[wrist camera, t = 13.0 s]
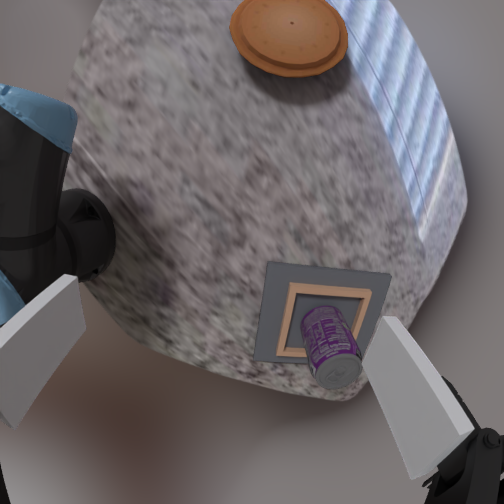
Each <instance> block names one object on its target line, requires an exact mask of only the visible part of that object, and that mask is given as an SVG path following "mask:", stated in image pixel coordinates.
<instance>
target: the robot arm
mask: <svg viewBox="0 0 504 504" xmlns="http://www.w3.org/2000/svg"><path fill="white" fill-rule="evenodd" d="M77 121H78V118H77V113H76V111H75V110H74V108H73V107H71V106H70V105H68V104H66V103H63V102H61V101H59V100H56V99H53V98H50V97H48V96H45V95H42V94H39V93H36V92H32V91H29V90H25V89H22V88H18V87H13V86H9V85H5V84H0V420H1V421H2V422H3V423H5V424H6V425H8V426H9V427H10V428H12V429H13V430H16V428H17V427H18V425H19V423H20V422H21V420H22V418H23V417H24V415H25V414H26V412H27V411H28V409H29V407H30V406H31V404H32V403H33V401H34V400H35V398H36V397H37V395H38V394H39V392H40V391H41V390H42V388H43V387H44V385H45V384H46V382H47V380H48V379H49V378H50V377H51V375H52V374H53V372H54V371H55V370H56V368H57V367H58V366H59V364H60V363H61V361H62V360H63V359H64V357H65V356H66V355H67V354H68V352H69V351H70V349H71V348H72V347H73V346H74V344H75V343H76V342H77V340H78V339H79V338H80V337H81V335H82V334H83V333H84V331H85V330H86V324H85V319H84V314H83V308H82V303H81V297H80V290H79V284H78V283H80V282H84V281H89V280H91V279H93V278H95V277H97V276H98V275H99V274H100V273H102V272H103V271H104V270H105V269H106V268H107V267H108V265H109V264H110V262H111V260H112V258H113V255H114V251H115V230H114V226H113V222H112V219H111V217H110V214H109V212H108V210H107V209H106V207H105V206H104V204H103V203H102V202H101V201H100V200H99V199H98V198H97V197H96V196H95V195H94V194H92V193H90V192H89V191H86V190H83V189H77V188H76V189H69V190H66V191H62V187H63V182H64V177H65V172H66V168H67V164H68V160H69V156H70V154H71V153H72V143H73V138H74V134H75V130H76V126H77ZM362 366H363V368H364V370H365V373H366V375H367V377H368V379H369V381H370V383H371V386H372V388H373V390H374V392H375V394H376V397H377V399H378V401H379V403H380V406H381V408H382V410H383V413H384V415H385V417H386V420H387V422H388V424H389V427H390V429H391V432H392V434H393V436H394V439H395V441H396V444H397V446H398V449H399V451H400V454H401V456H402V459H403V461H404V464H405V466H406V469H407V471H408V474H409V477H410V480H412V479H415V478H418V477H421V476H423V475H426V474H428V473H429V472H430V471H431V470H432V469H434V468H435V467H436V466H437V467H438V469H439V471H438V472H436V473H435V474H434V475H433V476H432V477H430V478H429V479H428V480H426V481H425V482H424V483H423V485H422V487H425V486H426V485H427V484H428V483H430V482H431V481H432V484H430V485H429V486H428V487H427V488H429V492H428V495H427V498H426V500H425V503H424V504H504V479H502V480H501V481H500V475H501V474H502V473H503V472H504V435H501V436H500V435H499V434H498V433H497V432H496V431H495V430H493V429H491V428H484V429H481V428H480V426H479V425H478V423H477V422H476V420H475V418H474V417H473V415H472V414H471V412H470V411H469V409H468V408H467V406H466V404H465V403H464V402H462V398H461V397H460V396H459V395H458V392H457V391H456V390H455V388H454V387H453V385H452V384H451V383H450V382H449V381H448V380H446V379H445V378H444V377H443V376H440V375H439V373H438V372H437V370H436V369H435V368H434V366H433V365H432V363H431V362H430V361H429V359H428V358H427V356H426V355H425V354H424V352H423V351H422V350H421V348H420V347H419V346H418V344H417V343H416V342H415V340H414V339H413V338H412V336H411V335H410V334H409V332H408V331H407V330H406V329H405V327H404V326H403V325H402V323H401V322H400V321H399V320H398V318H397V317H392V316H382V318H381V321H380V323H379V326H378V328H377V331H376V333H375V335H374V338H373V340H372V342H371V345H370V347H369V349H368V351H367V353H366V356H365V358H364V360H363V362H362ZM0 504H11V503H10V500H9V497H8V493H7V490H6V486H5V482H4V478H3V474H2V469H1V464H0Z"/></svg>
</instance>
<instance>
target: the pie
mask: <svg viewBox="0 0 504 504" xmlns="http://www.w3.org/2000/svg"><path fill="white" fill-rule="evenodd" d="M229 29H230V32H231V35H232V39H233V41H234V43H235V45H236V47H237V49H238V51H239V53H240V54H241V55H242V56H243V57H244V58H245V59H247V60H248V61H249V62H250V63H251V64H252V65H254V66H256V67H258V68H260V69H262V70H264V71H266V72H267V73H271V74H275V75H278V76H282V77H299V78H303V77H308V76H314V75H319V74H321V73H323V72H325V71H327V70H329V69H331V68H332V67H334V66H335V65H336V64H337V63H338V62H340V61H341V60H342V59H343V58H344V55H345V53H346V50H347V48H348V33H347V30H346V26H345V23H344V21H343V19H342V18H341V16H340V15H339V13H338V12H337V10H336V9H334V8H333V7H332V6H331V5H330V4H328V3H327V2H326V1H325V0H244V1H243V2H242V3H241V4H240V5H239V6H238V7H237V9H236V10H235V12H234V13H233V15H232V17H231V22H230V26H229Z"/></svg>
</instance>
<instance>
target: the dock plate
mask: <svg viewBox="0 0 504 504" xmlns="http://www.w3.org/2000/svg"><path fill="white" fill-rule="evenodd" d="M391 278H392V276H391V275H390V274H387V273H377V272H367V271H357V270H347V269H337V268H327V267H318V266H308V265H298V264H289V263H279V262H270V261H268V263H267V270H266V277H265V283H264V290H263V297H262V304H261V310H260V317H259V323H258V330H257V336H256V343H255V349H254V355H253V360H255V361H269V362H285V363H308V359H307V355H306V351H305V346H304V342H303V338H302V334H301V330H300V325H301V321H302V319H303V317H304V316H305V315H306V314H307V313H308V312H309V311H310V310H312V309H314V308H316V307H319V306H325V305H328V306H333V307H335V308H337V309H339V310H340V311H341V313H342V314H343V316H344V318H345V320H346V322H347V324H348V326H349V328H350V330H351V332H352V335H353V337H354V339H355V341H356V343H357V345H358V347H359V349H360V351H361V354H362V357H363V355H364V353H365V350H366V348H367V346H368V343H369V341H370V338H371V336H372V333H373V330H374V328H375V325H376V322H377V320H378V317H379V314H380V311H381V309H382V306H383V303H384V300H385V297H386V294H387V291H388V287H389V284H390V281H391Z"/></svg>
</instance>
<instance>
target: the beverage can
mask: <svg viewBox="0 0 504 504" xmlns="http://www.w3.org/2000/svg"><path fill="white" fill-rule="evenodd" d="M300 330H301V334H302V338H303V342H304V346H305V351H306V355H307V359H308V363H309V368H310V372H311V374H312V376H313V377H314V378H315V379H316V381H317V383H318V384H319V385H320V386H321V387H323V388H326V389H339V388H342V387H345V386H347V385H349V384H351V383H352V382H354V381H355V380H356V379H357V378H358V377H359V375H360V374H361V372H362V368H363V366H362V362H361V360H362V354H361V351H360V349H359V347H358V345H357V343H356V341H355V339H354V337H353V335H352V332H351V330H350V328H349V326H348V324H347V322H346V320H345V318H344V316H343V314H342V313H341V311H340V310H339V309H337V308H335V307H333V306H328V305H325V306H319V307H316V308H314V309H312V310H310V311H309V312H308V313H307V314H306V315H305V316H304V317H303V319H302V321H301V325H300Z"/></svg>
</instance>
